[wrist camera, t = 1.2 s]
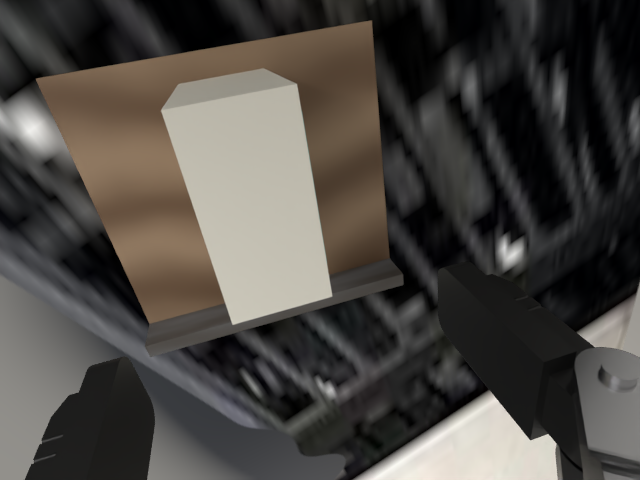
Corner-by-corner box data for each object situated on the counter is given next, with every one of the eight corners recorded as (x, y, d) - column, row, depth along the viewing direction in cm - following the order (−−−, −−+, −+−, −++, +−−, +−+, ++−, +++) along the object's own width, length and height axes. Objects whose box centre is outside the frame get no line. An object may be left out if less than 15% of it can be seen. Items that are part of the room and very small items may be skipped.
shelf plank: (45, 76, 22) (15, 82, 19) (363, 21, 25) (388, 18, 22) (157, 322, 31) (150, 358, 27) (383, 261, 34) (403, 285, 30)
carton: (224, 235, 27) (232, 324, 19) (178, 83, 23) (161, 110, 14) (297, 217, 28) (336, 295, 20) (267, 67, 23) (303, 82, 15)
